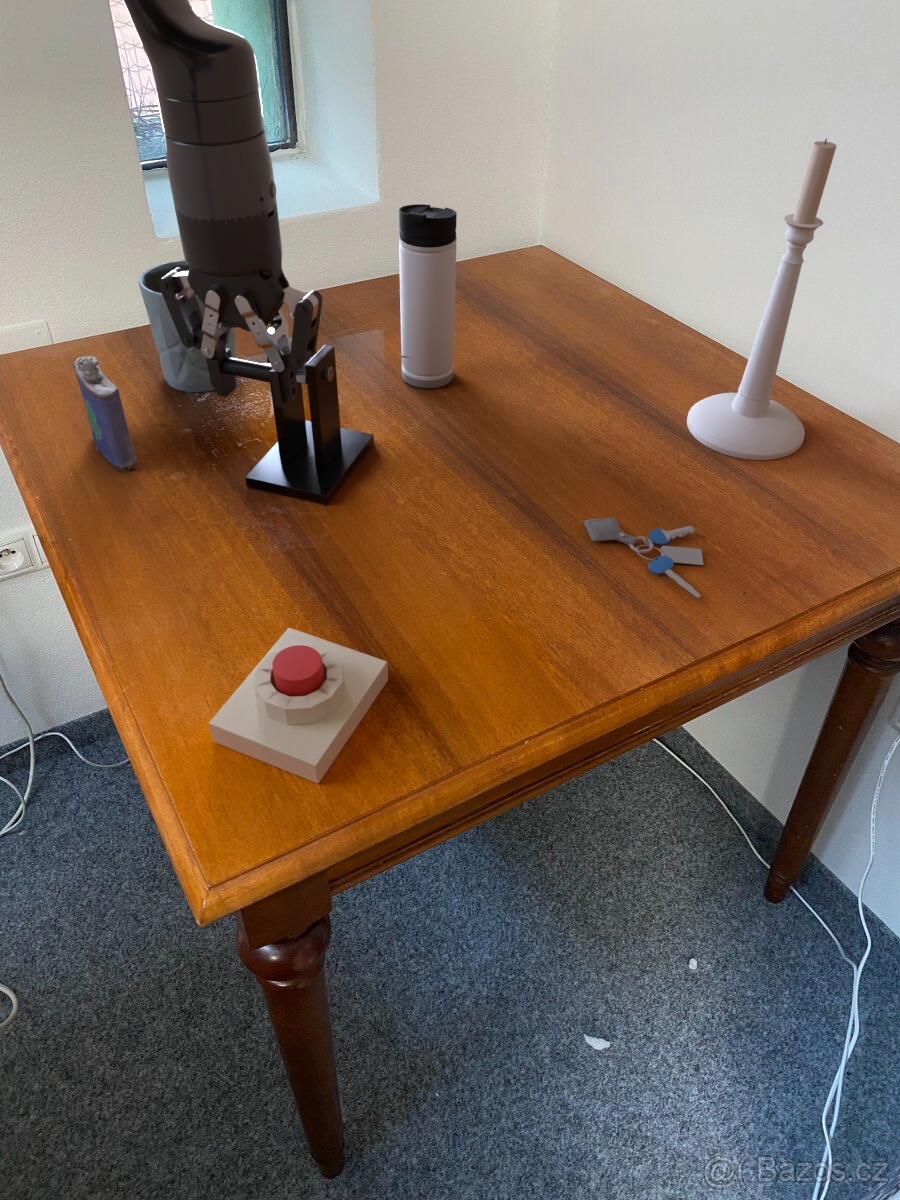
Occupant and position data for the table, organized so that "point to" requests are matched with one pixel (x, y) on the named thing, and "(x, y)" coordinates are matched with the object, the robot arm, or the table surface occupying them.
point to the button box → (300, 709)
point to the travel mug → (427, 294)
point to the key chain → (658, 565)
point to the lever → (256, 370)
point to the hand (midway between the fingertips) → (255, 397)
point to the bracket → (311, 441)
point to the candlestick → (767, 348)
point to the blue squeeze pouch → (105, 414)
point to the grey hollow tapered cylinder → (175, 335)
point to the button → (298, 670)
